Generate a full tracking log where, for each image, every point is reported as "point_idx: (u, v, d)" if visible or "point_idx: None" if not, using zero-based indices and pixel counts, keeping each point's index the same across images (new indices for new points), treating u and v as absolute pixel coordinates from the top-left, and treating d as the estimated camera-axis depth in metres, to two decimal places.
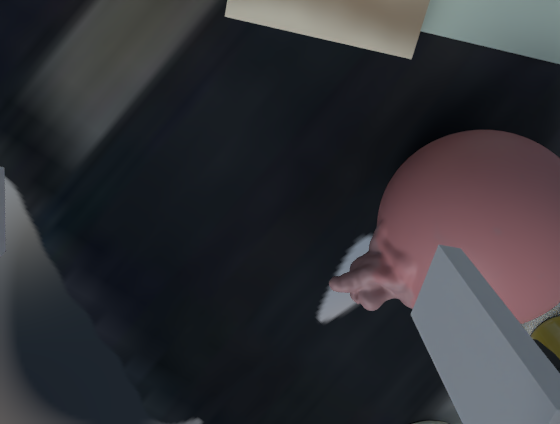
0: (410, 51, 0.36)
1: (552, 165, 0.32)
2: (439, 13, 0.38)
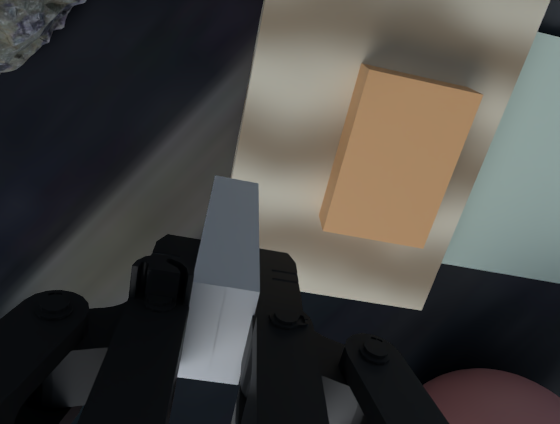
0: (420, 303, 0.32)
1: None
2: (452, 245, 0.34)
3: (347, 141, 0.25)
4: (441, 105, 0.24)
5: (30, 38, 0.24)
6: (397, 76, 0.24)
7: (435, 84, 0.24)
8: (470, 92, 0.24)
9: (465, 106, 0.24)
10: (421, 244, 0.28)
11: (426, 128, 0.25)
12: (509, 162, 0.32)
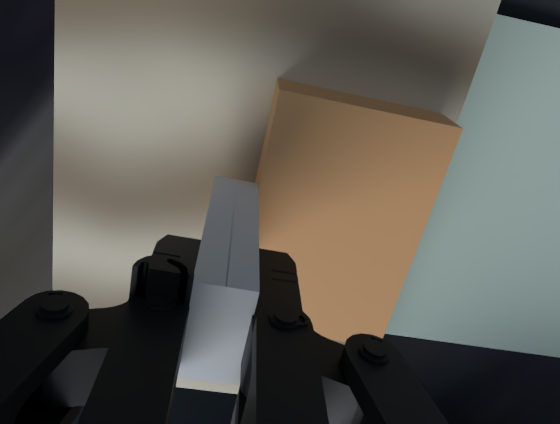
0: None
1: None
2: (400, 311, 0.25)
3: None
4: (397, 144, 0.16)
5: None
6: (325, 100, 0.15)
7: (387, 112, 0.15)
8: (442, 124, 0.15)
9: (435, 146, 0.16)
10: None
11: (376, 178, 0.16)
12: (473, 201, 0.23)
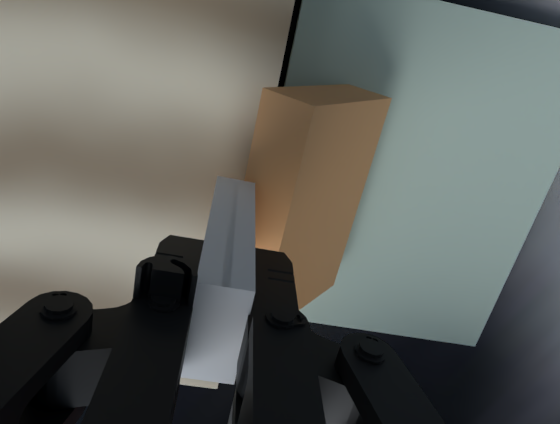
0: None
1: None
2: None
3: (282, 214, 0.16)
4: (364, 124, 0.18)
5: None
6: (336, 104, 0.16)
7: (362, 101, 0.17)
8: (383, 99, 0.19)
9: (379, 117, 0.19)
10: (333, 282, 0.23)
11: (351, 157, 0.18)
12: None
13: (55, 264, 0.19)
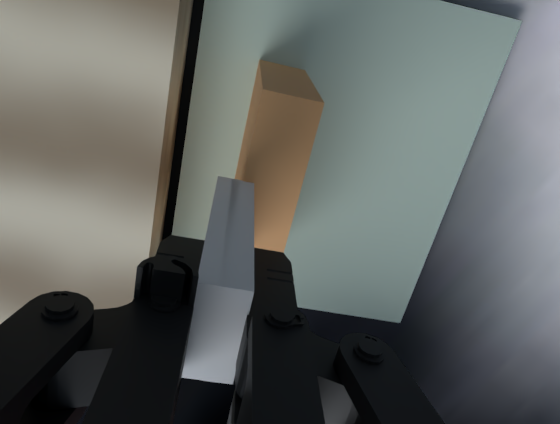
0: None
1: None
2: None
3: (289, 206, 0.17)
4: None
5: None
6: (317, 93, 0.17)
7: (309, 81, 0.18)
8: (305, 73, 0.20)
9: None
10: None
11: None
12: None
13: None
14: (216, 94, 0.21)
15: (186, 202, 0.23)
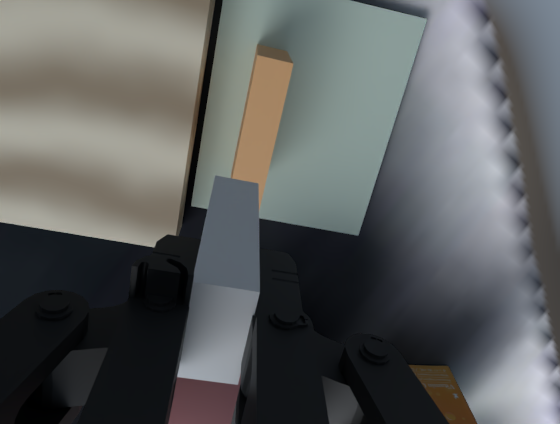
0: None
1: None
2: None
3: (274, 129, 0.28)
4: None
5: None
6: (291, 60, 0.27)
7: (288, 55, 0.29)
8: (286, 52, 0.31)
9: None
10: None
11: None
12: None
13: (67, 155, 0.30)
14: (228, 67, 0.32)
15: (207, 143, 0.34)
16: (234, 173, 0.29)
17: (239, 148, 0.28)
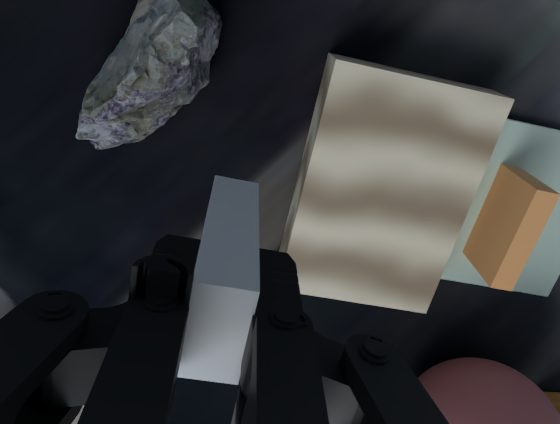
0: (425, 308, 0.44)
1: (539, 419, 0.41)
2: (448, 265, 0.46)
3: (536, 236, 0.38)
4: None
5: (158, 126, 0.36)
6: (549, 187, 0.38)
7: (535, 178, 0.40)
8: (524, 171, 0.42)
9: None
10: None
11: None
12: None
13: (366, 248, 0.41)
14: None
15: None
16: (501, 265, 0.39)
17: (509, 249, 0.39)
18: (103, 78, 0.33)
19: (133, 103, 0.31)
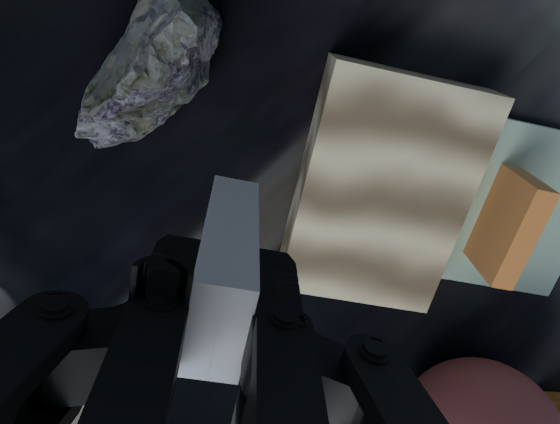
0: (425, 308, 0.44)
1: (539, 419, 0.41)
2: (448, 265, 0.46)
3: (537, 236, 0.38)
4: None
5: (157, 125, 0.36)
6: (550, 187, 0.38)
7: (536, 178, 0.40)
8: (525, 170, 0.42)
9: None
10: None
11: None
12: None
13: (367, 248, 0.41)
14: None
15: None
16: (502, 265, 0.39)
17: (509, 249, 0.39)
18: (102, 77, 0.33)
19: (132, 102, 0.31)
